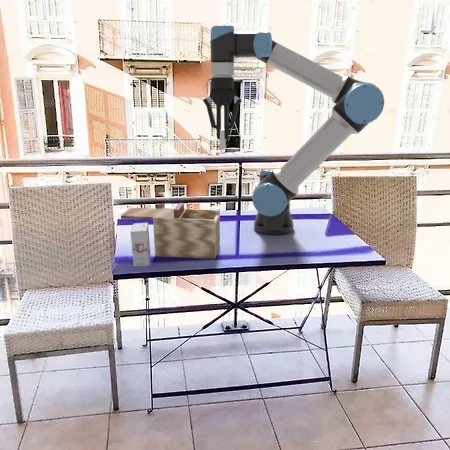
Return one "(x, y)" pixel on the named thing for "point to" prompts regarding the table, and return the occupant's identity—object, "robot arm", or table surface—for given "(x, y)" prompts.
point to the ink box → (140, 244)
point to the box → (188, 234)
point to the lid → (154, 213)
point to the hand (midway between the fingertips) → (222, 148)
